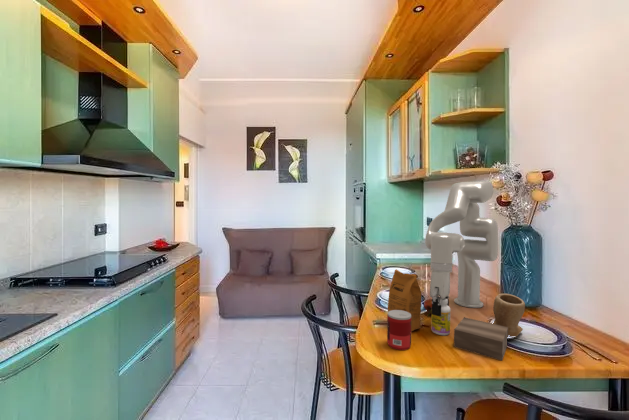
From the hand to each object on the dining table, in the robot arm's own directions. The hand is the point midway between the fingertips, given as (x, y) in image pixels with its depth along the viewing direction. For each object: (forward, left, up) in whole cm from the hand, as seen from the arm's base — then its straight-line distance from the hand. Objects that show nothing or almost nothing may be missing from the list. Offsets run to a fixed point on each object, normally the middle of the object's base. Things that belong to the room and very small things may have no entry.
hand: (440, 311), depth 111 cm
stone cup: (-15, +20, -8) cm, 26 cm away
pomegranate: (-17, -8, -8) cm, 20 cm away
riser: (+1, +14, -8) cm, 16 cm away
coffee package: (+3, -13, -8) cm, 16 cm away
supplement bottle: (-1, 0, -8) cm, 8 cm away
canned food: (+19, -8, -8) cm, 23 cm away
